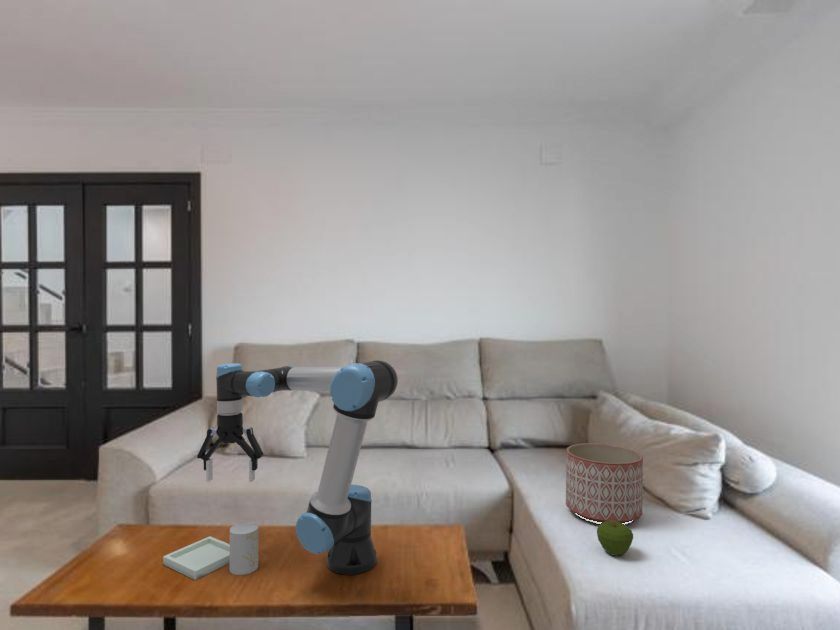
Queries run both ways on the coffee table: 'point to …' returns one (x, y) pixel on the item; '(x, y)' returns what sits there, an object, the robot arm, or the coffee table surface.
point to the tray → (199, 558)
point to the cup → (243, 548)
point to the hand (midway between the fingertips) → (230, 480)
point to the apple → (614, 537)
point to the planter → (604, 482)
